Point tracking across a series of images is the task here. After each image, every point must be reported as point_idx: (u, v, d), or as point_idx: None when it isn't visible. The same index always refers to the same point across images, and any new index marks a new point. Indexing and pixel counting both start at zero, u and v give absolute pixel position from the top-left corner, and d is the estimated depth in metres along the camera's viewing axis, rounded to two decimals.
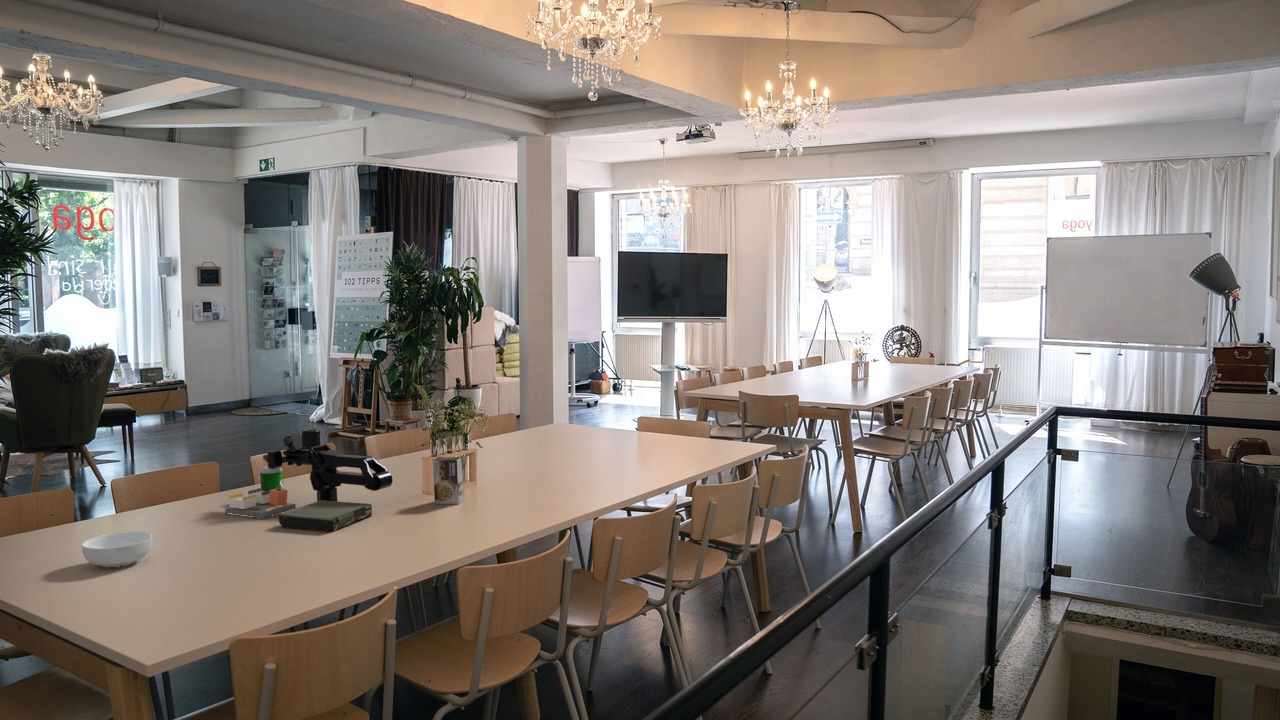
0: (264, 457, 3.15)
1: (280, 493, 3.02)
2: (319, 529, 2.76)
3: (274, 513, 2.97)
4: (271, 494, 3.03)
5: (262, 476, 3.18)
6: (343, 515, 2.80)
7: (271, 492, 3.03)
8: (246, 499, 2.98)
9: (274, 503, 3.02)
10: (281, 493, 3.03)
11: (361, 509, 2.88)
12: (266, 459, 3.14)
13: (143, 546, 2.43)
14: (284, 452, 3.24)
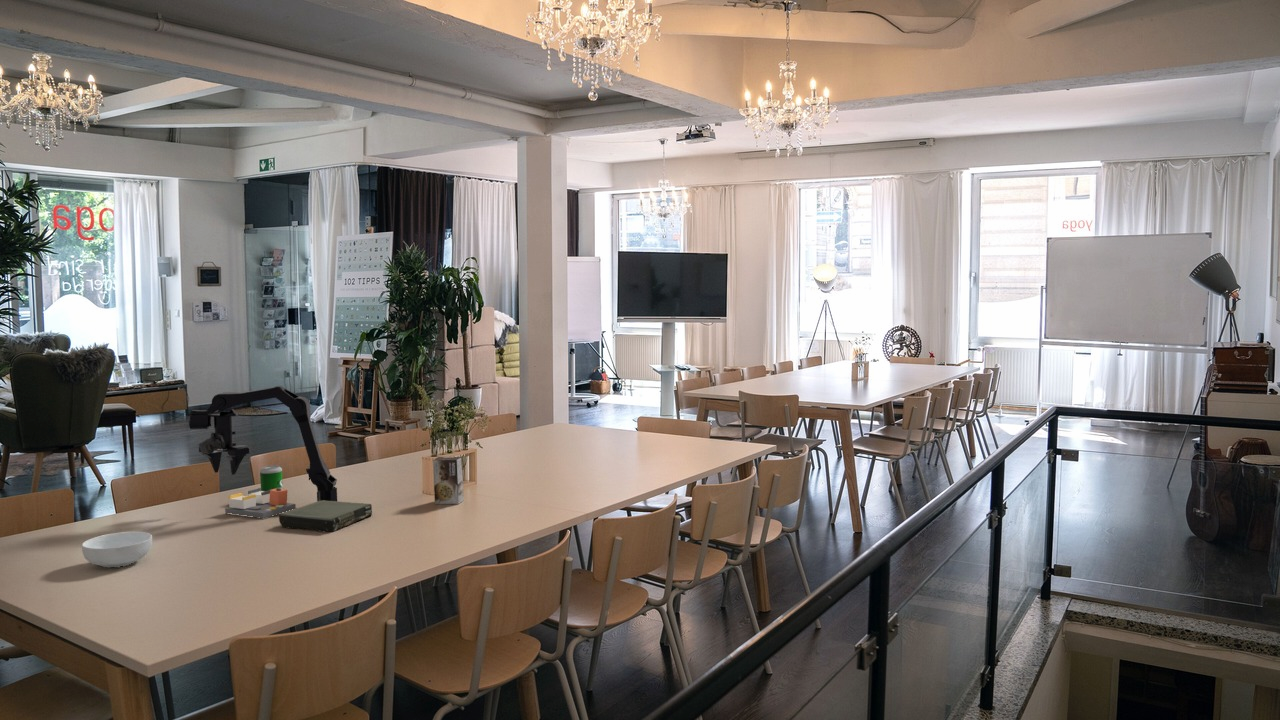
0: (234, 471, 3.01)
1: (280, 493, 3.02)
2: (319, 529, 2.76)
3: (274, 513, 2.97)
4: (271, 494, 3.03)
5: (262, 476, 3.18)
6: (343, 515, 2.80)
7: (271, 492, 3.03)
8: (246, 499, 2.98)
9: (274, 503, 3.02)
10: (281, 493, 3.03)
11: (361, 510, 2.88)
12: (236, 467, 3.02)
13: (143, 546, 2.43)
14: (216, 470, 3.05)
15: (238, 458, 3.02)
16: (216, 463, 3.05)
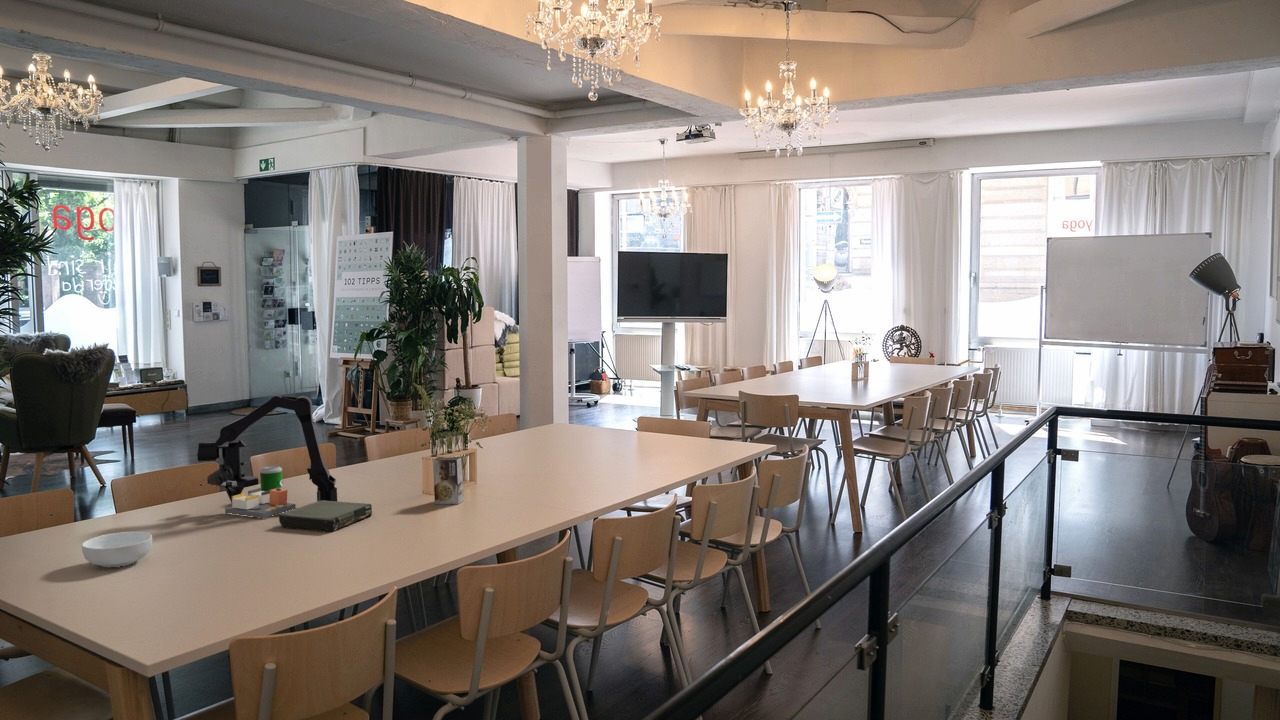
0: None
1: (280, 493, 3.02)
2: (319, 529, 2.76)
3: (274, 513, 2.97)
4: (271, 494, 3.03)
5: (262, 476, 3.18)
6: (343, 515, 2.80)
7: (271, 492, 3.03)
8: (249, 499, 2.97)
9: (274, 503, 3.02)
10: (281, 493, 3.03)
11: (361, 509, 2.88)
12: None
13: (143, 546, 2.43)
14: None
15: (239, 488, 3.02)
16: None
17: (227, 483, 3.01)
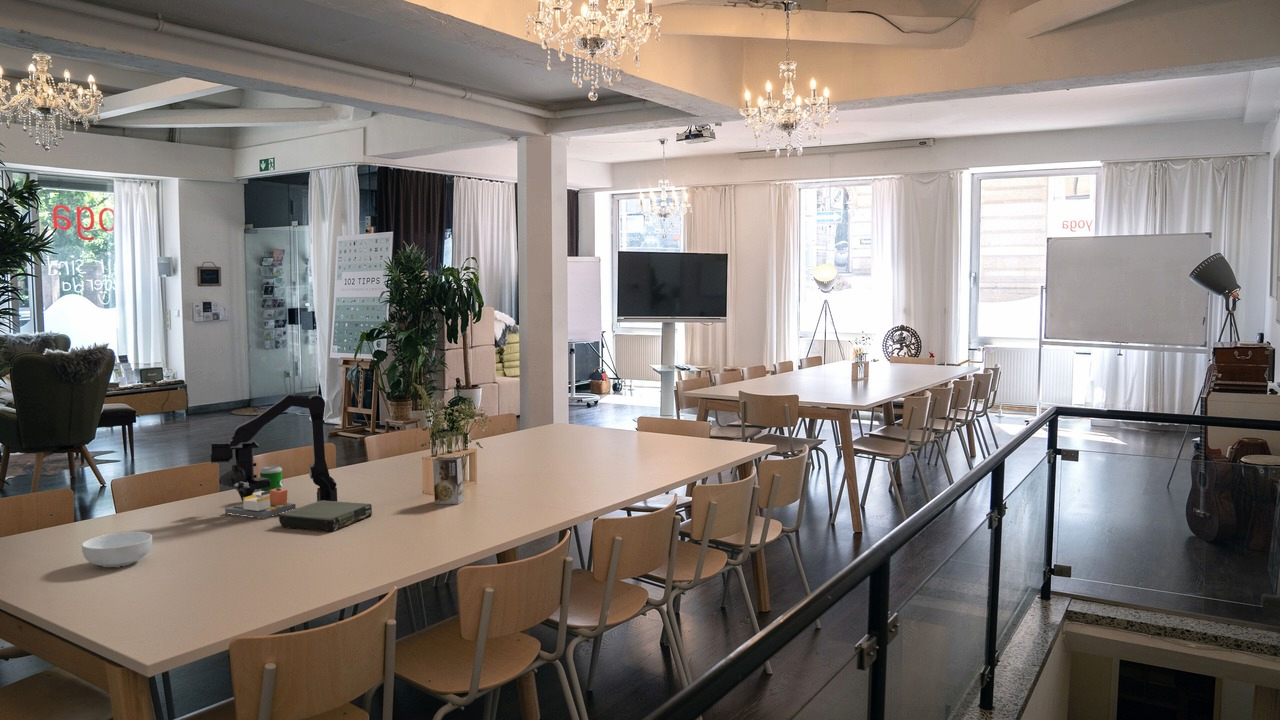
0: None
1: (280, 493, 3.02)
2: (319, 529, 2.76)
3: (274, 513, 2.97)
4: (271, 494, 3.03)
5: (262, 476, 3.18)
6: (343, 515, 2.80)
7: (271, 492, 3.03)
8: (260, 501, 2.95)
9: (274, 503, 3.02)
10: (281, 493, 3.03)
11: (361, 509, 2.88)
12: None
13: (143, 546, 2.43)
14: None
15: (250, 489, 3.00)
16: None
17: (239, 484, 2.99)
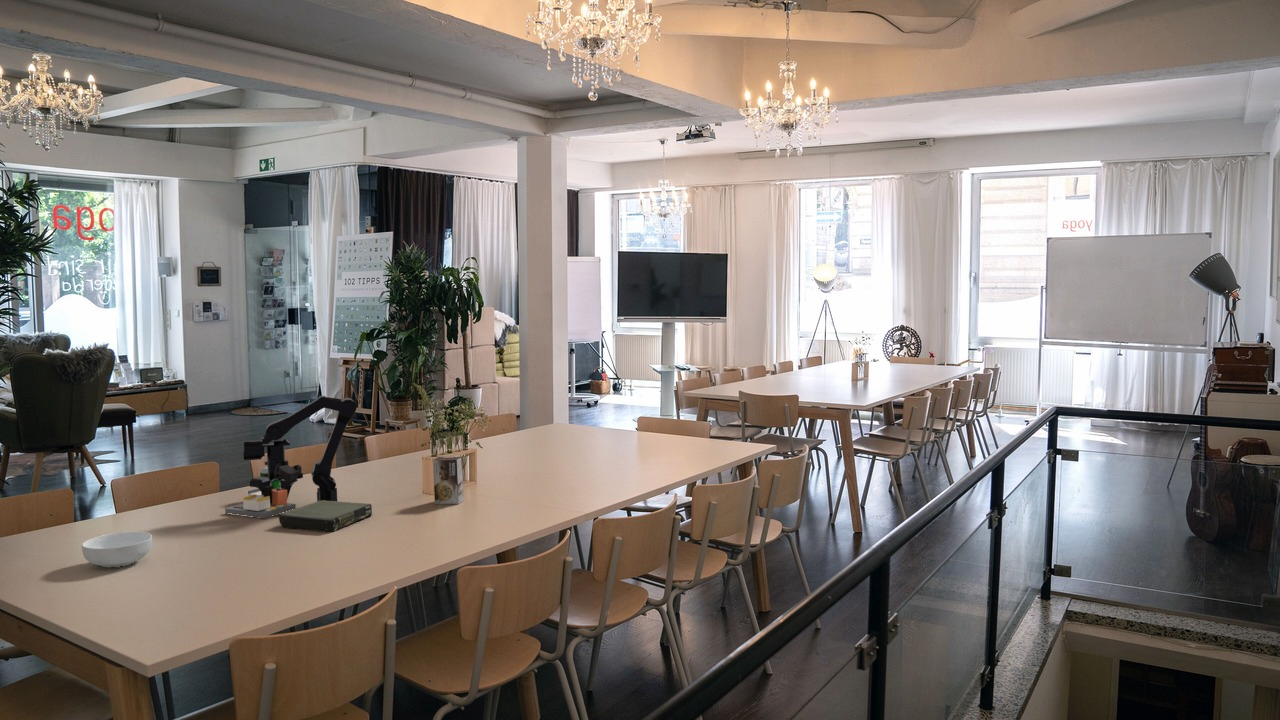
0: None
1: (280, 493, 3.02)
2: (319, 529, 2.76)
3: (274, 513, 2.97)
4: None
5: (262, 476, 3.18)
6: (343, 515, 2.80)
7: None
8: (260, 501, 2.95)
9: (274, 503, 3.02)
10: (281, 493, 3.03)
11: (361, 510, 2.88)
12: None
13: (143, 546, 2.43)
14: None
15: None
16: None
17: None
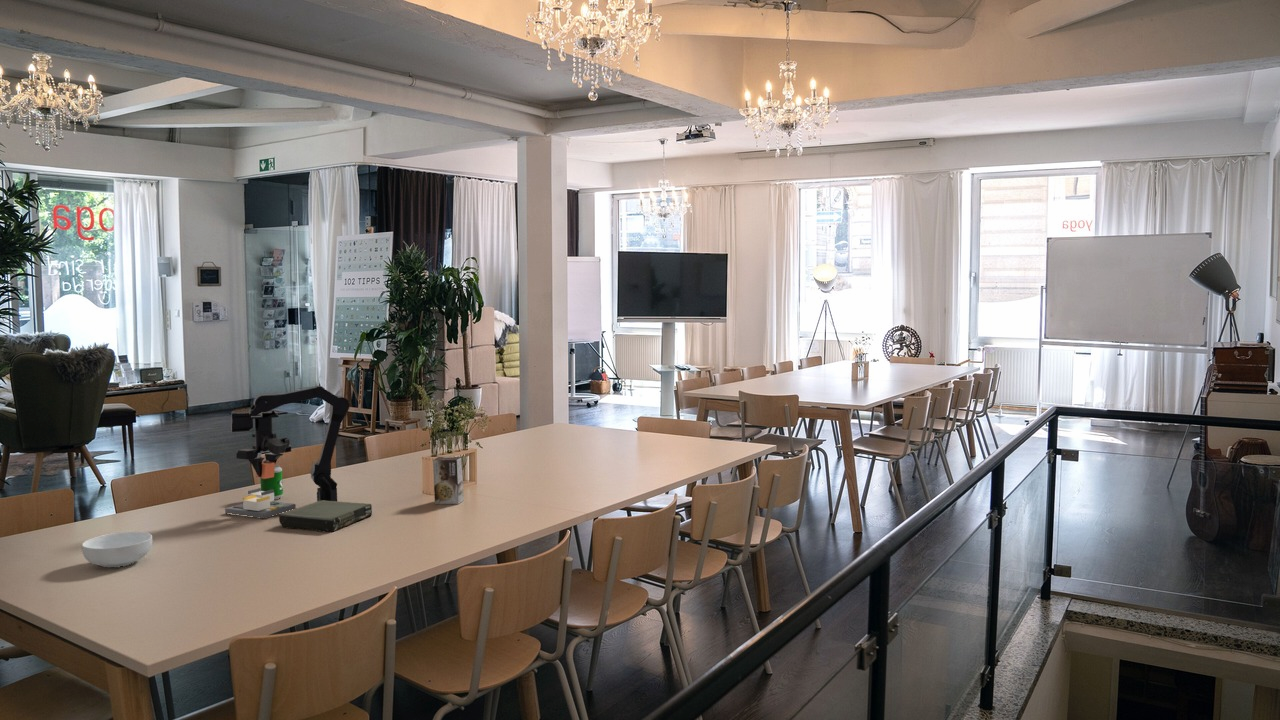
0: None
1: (267, 466, 2.98)
2: (319, 529, 2.76)
3: (274, 513, 2.97)
4: None
5: None
6: (343, 515, 2.80)
7: None
8: (260, 501, 2.95)
9: (261, 476, 2.99)
10: (268, 465, 2.99)
11: (361, 510, 2.88)
12: None
13: (143, 546, 2.43)
14: None
15: None
16: None
17: None
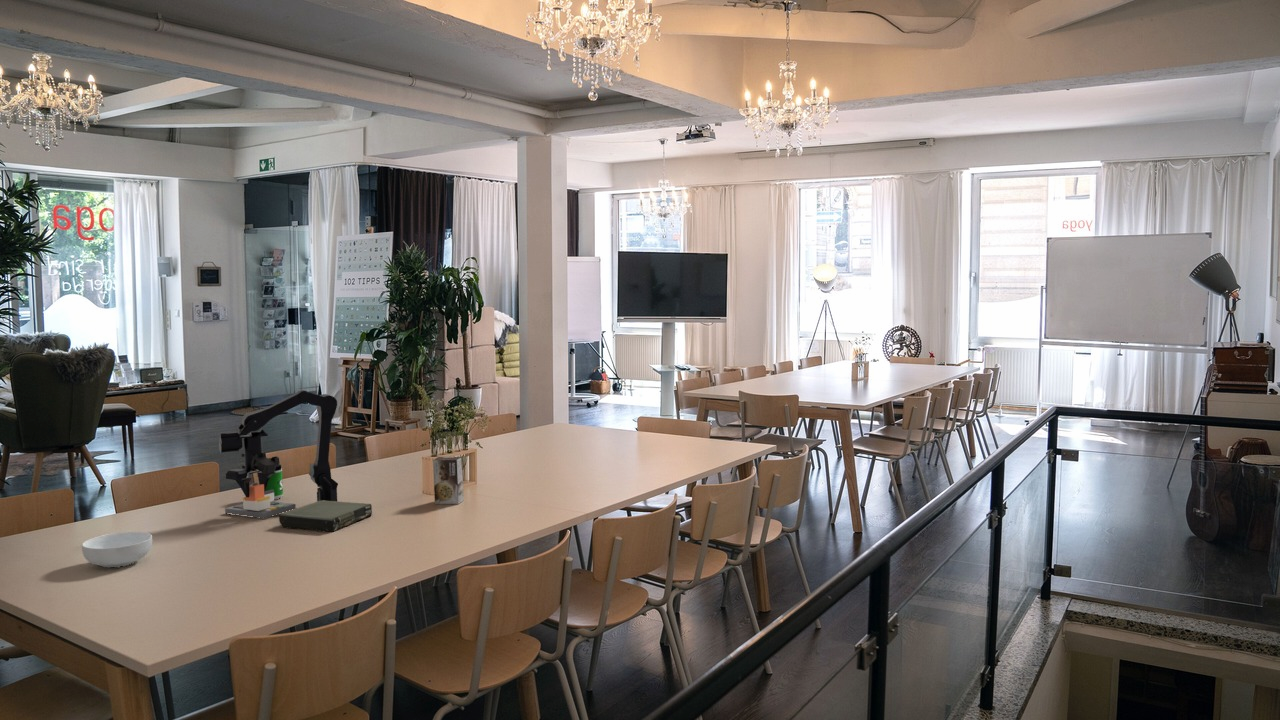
0: None
1: (256, 487, 2.96)
2: (319, 529, 2.76)
3: (274, 513, 2.97)
4: None
5: None
6: (343, 515, 2.80)
7: None
8: (260, 501, 2.95)
9: (251, 498, 2.96)
10: (257, 487, 2.96)
11: (361, 510, 2.88)
12: None
13: (143, 546, 2.43)
14: None
15: None
16: None
17: None
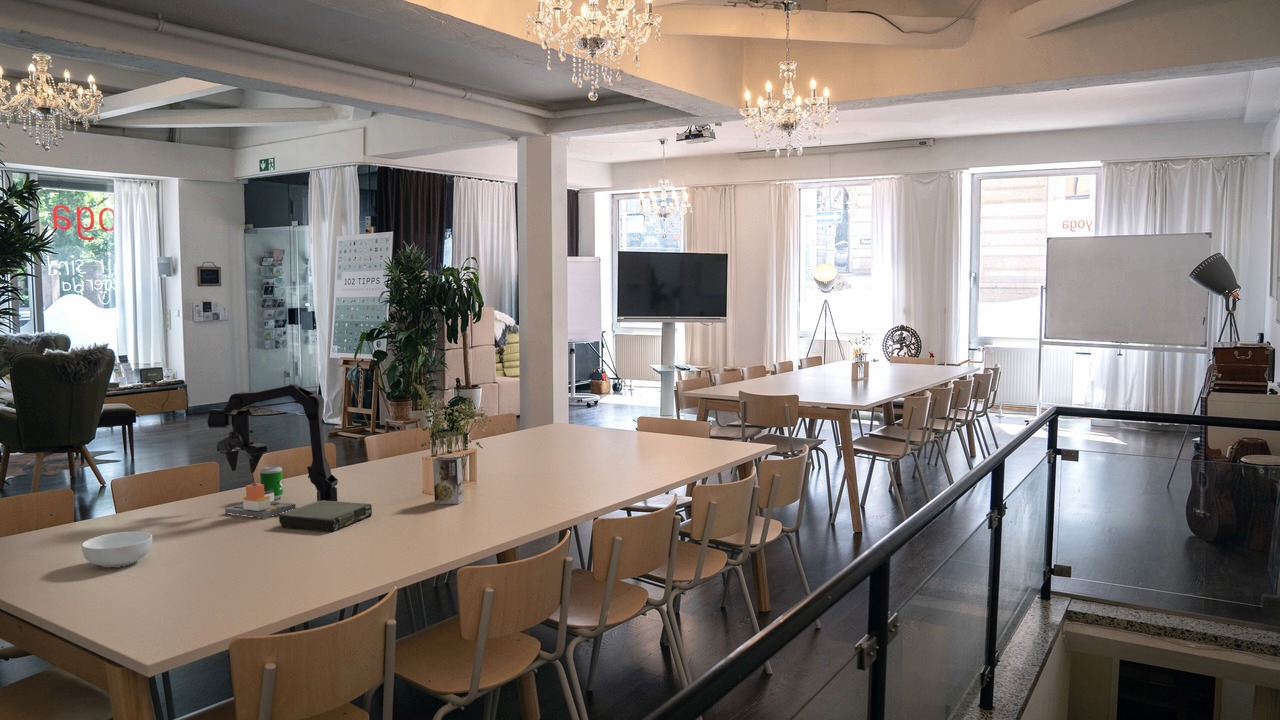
0: (253, 469, 3.06)
1: (256, 487, 2.96)
2: (319, 529, 2.76)
3: (274, 513, 2.97)
4: (247, 490, 2.96)
5: (262, 476, 3.18)
6: (343, 515, 2.80)
7: (247, 488, 2.96)
8: (260, 501, 2.95)
9: (251, 498, 2.96)
10: (257, 487, 2.96)
11: (361, 509, 2.88)
12: (255, 465, 3.06)
13: (143, 546, 2.43)
14: (233, 468, 3.09)
15: (257, 456, 3.06)
16: (233, 461, 3.10)
17: None
